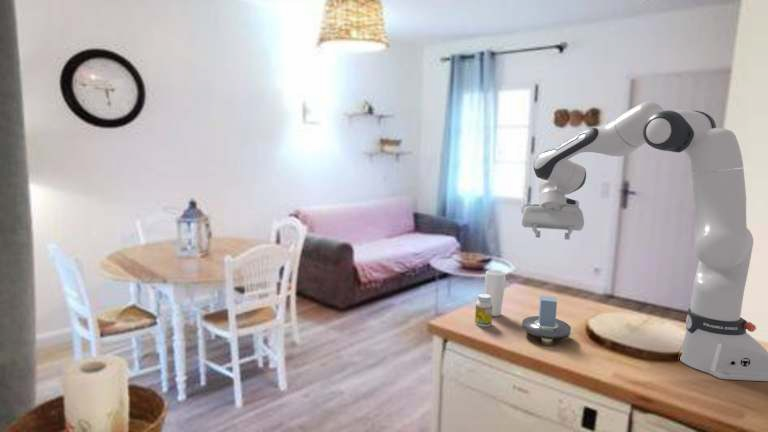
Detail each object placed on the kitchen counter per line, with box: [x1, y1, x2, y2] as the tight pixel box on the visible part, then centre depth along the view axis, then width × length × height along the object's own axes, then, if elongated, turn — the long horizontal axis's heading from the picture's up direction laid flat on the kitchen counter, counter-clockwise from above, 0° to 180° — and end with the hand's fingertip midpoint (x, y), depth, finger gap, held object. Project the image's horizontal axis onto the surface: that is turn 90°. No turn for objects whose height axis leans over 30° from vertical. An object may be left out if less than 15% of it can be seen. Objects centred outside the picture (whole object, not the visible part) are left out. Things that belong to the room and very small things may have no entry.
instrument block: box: [538, 295, 558, 327], centre depth 141 cm, size 4×4×8 cm
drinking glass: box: [484, 269, 507, 317], centre depth 159 cm, size 7×7×15 cm
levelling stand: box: [521, 315, 572, 347], centre depth 142 cm, size 14×14×5 cm
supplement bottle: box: [474, 293, 493, 327], centre depth 151 cm, size 5×5×10 cm
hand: (552, 237), depth 157 cm, fingers open, 8 cm apart
